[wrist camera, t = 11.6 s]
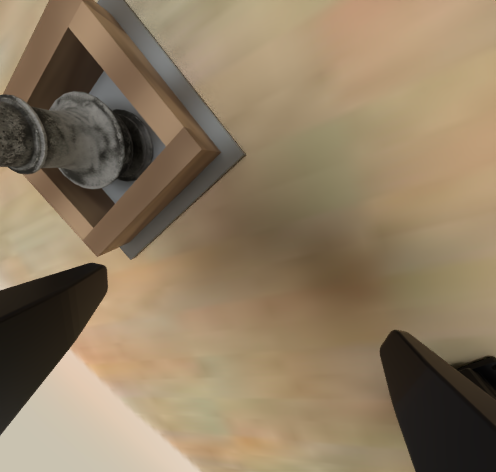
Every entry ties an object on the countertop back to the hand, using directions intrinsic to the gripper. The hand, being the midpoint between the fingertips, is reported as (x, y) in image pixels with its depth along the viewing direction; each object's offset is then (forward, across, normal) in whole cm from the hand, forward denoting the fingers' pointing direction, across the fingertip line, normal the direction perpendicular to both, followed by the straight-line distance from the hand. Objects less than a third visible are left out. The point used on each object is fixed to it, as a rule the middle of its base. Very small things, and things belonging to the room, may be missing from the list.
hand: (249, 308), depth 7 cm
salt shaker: (+14, +11, -1) cm, 18 cm away
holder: (+14, +11, -1) cm, 18 cm away
